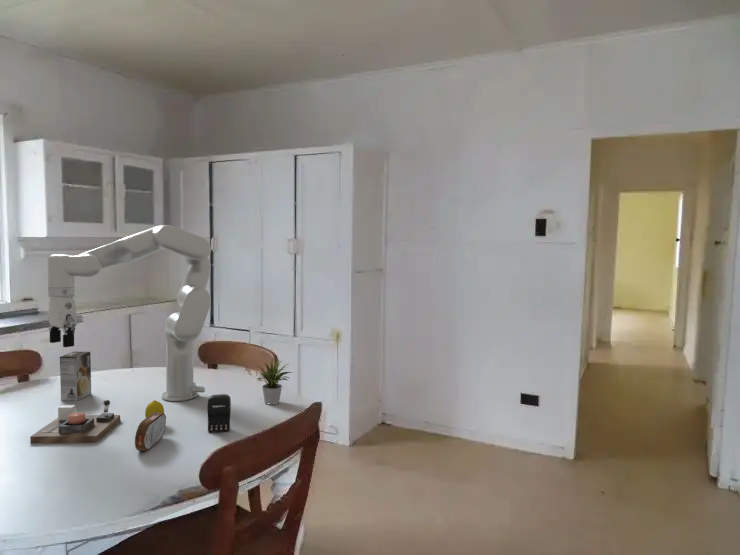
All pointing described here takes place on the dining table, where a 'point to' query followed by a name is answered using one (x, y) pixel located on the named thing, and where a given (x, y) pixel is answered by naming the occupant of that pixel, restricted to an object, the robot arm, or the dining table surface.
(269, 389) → the house plant
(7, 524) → the dining table surface
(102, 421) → the control board
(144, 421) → the tin
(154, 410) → the lemon
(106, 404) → the toggle lever
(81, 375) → the coffee box
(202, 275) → the robot arm
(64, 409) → the block
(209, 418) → the battery charger
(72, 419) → the push button
